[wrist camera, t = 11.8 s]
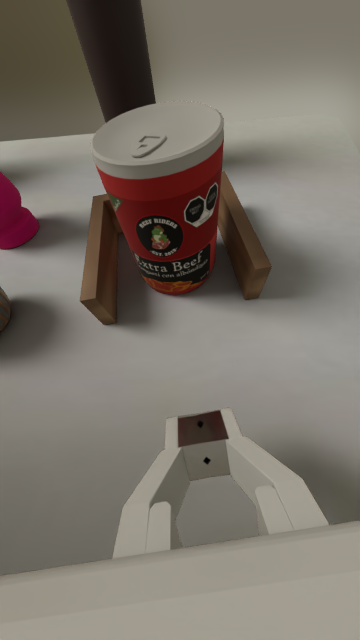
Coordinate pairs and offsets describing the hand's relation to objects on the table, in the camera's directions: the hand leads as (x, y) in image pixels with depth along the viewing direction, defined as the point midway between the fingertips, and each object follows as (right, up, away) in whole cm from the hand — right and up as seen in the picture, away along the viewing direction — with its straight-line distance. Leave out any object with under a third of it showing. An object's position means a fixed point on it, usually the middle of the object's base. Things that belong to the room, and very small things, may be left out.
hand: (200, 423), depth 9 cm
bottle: (-7, +28, +22) cm, 36 cm away
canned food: (-1, +10, +12) cm, 16 cm away
